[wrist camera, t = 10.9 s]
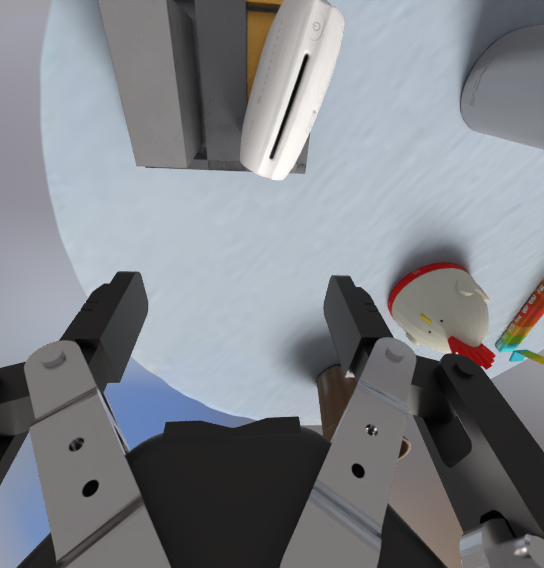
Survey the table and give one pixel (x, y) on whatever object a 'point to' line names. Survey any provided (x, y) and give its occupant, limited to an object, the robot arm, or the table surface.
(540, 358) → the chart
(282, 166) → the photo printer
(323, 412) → the plant pot
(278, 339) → the table surface
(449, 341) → the kitchen timer
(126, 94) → the rack
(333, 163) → the table surface
